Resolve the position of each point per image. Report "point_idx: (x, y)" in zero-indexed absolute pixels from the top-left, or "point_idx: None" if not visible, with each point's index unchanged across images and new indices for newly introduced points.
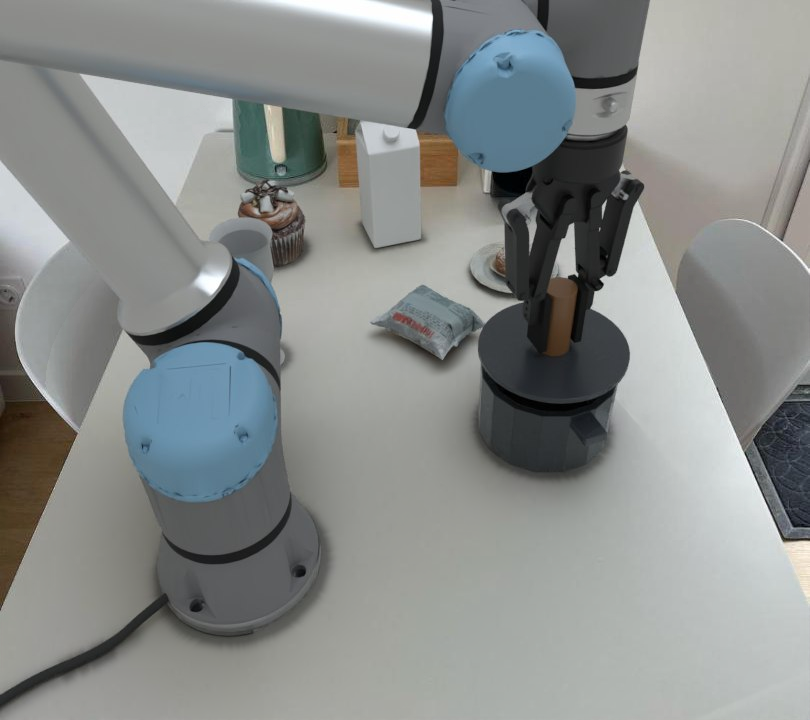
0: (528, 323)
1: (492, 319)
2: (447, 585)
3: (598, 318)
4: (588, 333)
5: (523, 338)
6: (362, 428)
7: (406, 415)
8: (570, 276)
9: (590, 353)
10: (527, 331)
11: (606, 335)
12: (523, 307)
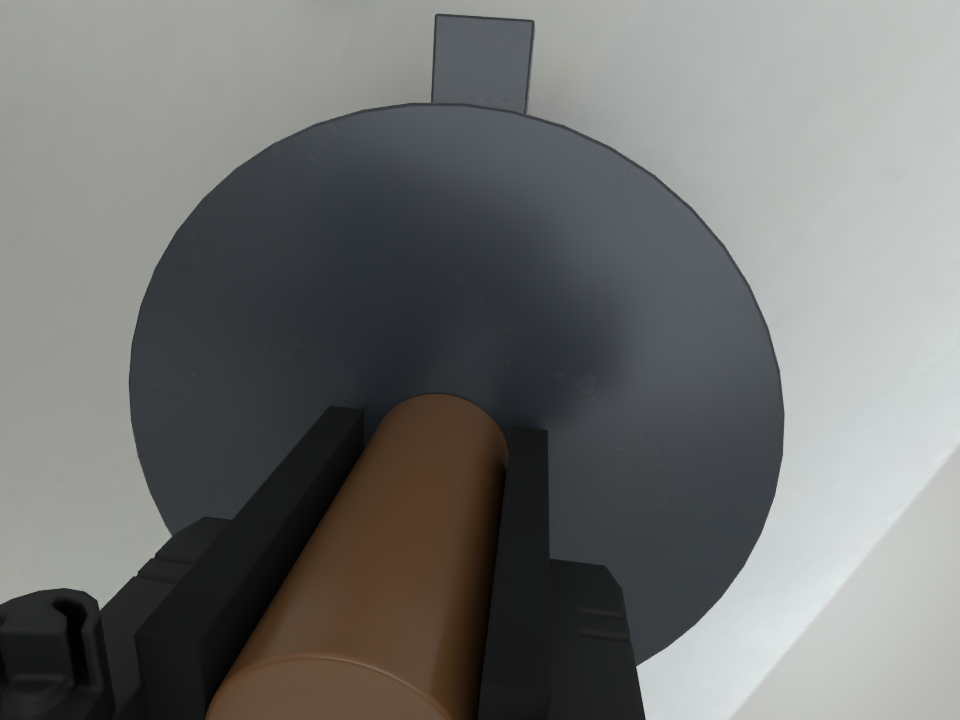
0: (298, 445)
1: (271, 163)
2: (126, 554)
3: (743, 408)
4: (627, 465)
5: (346, 357)
6: (39, 96)
7: (165, 106)
8: (495, 700)
9: (553, 557)
10: (316, 421)
11: (688, 511)
12: (142, 574)
